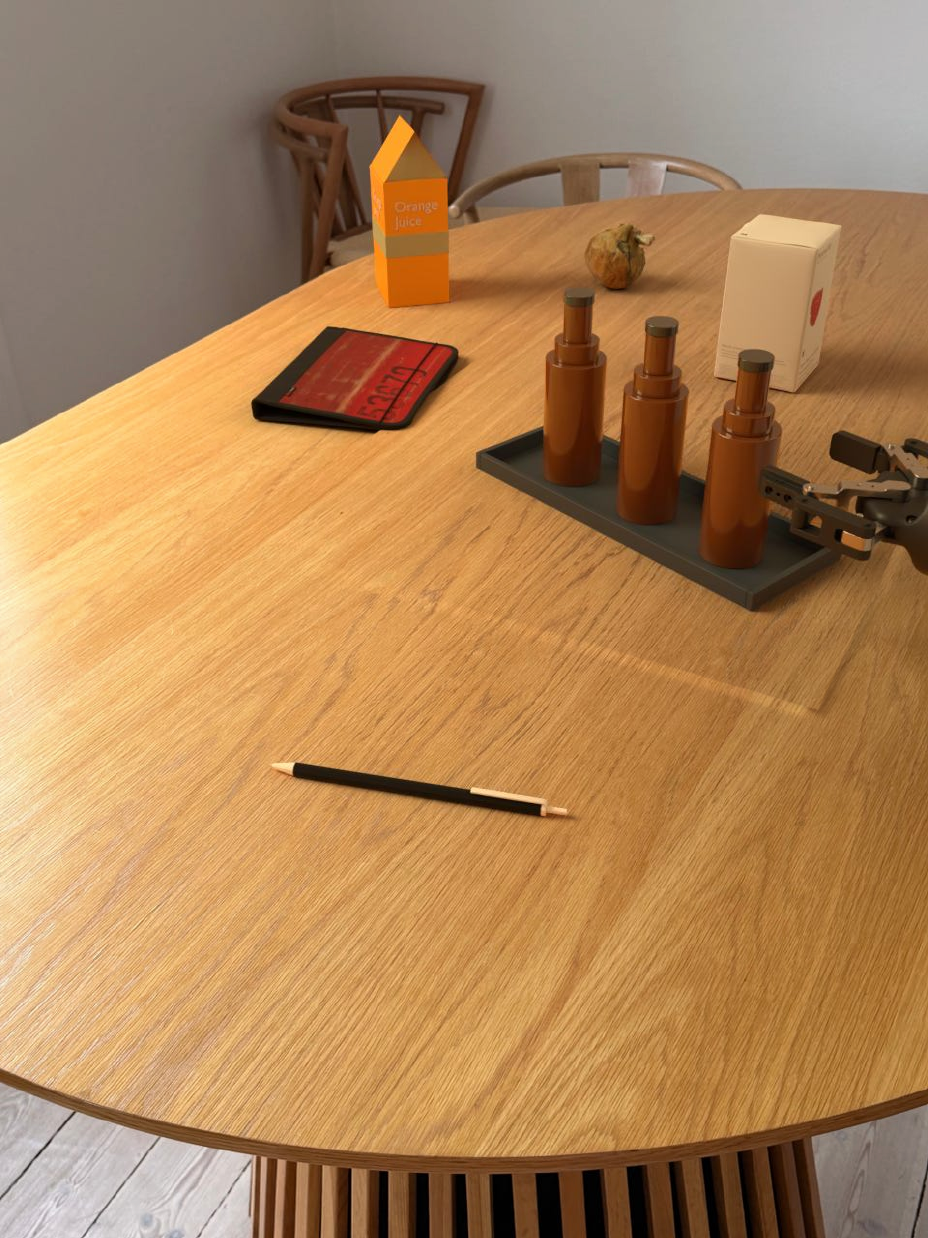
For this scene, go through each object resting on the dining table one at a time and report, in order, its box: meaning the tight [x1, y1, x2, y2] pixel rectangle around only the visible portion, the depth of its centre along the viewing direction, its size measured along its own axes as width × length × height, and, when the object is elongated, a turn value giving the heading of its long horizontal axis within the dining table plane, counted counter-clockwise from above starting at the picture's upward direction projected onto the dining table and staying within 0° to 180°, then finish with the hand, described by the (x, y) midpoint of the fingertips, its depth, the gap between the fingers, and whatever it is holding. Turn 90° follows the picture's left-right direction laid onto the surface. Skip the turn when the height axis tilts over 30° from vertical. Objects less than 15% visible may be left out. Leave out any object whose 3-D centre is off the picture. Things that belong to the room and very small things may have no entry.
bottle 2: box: [615, 315, 690, 525], centre depth 98 cm, size 5×5×17 cm
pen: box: [268, 761, 568, 817], centre depth 75 cm, size 1×19×1 cm, turn 76°
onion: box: [583, 222, 656, 290], centre depth 149 cm, size 8×8×8 cm
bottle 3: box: [698, 349, 783, 569], centre depth 92 cm, size 5×5×17 cm
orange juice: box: [368, 115, 450, 309], centre depth 144 cm, size 8×9×20 cm
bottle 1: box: [542, 286, 608, 487], centre depth 104 cm, size 5×5×17 cm
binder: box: [250, 325, 460, 431], centre depth 126 cm, size 16×2×21 cm
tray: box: [475, 425, 842, 612], centre depth 103 cm, size 31×11×2 cm, turn 41°
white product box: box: [713, 213, 842, 393], centre depth 124 cm, size 9×9×15 cm
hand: (798, 460), depth 89 cm, fingers open, 8 cm apart
